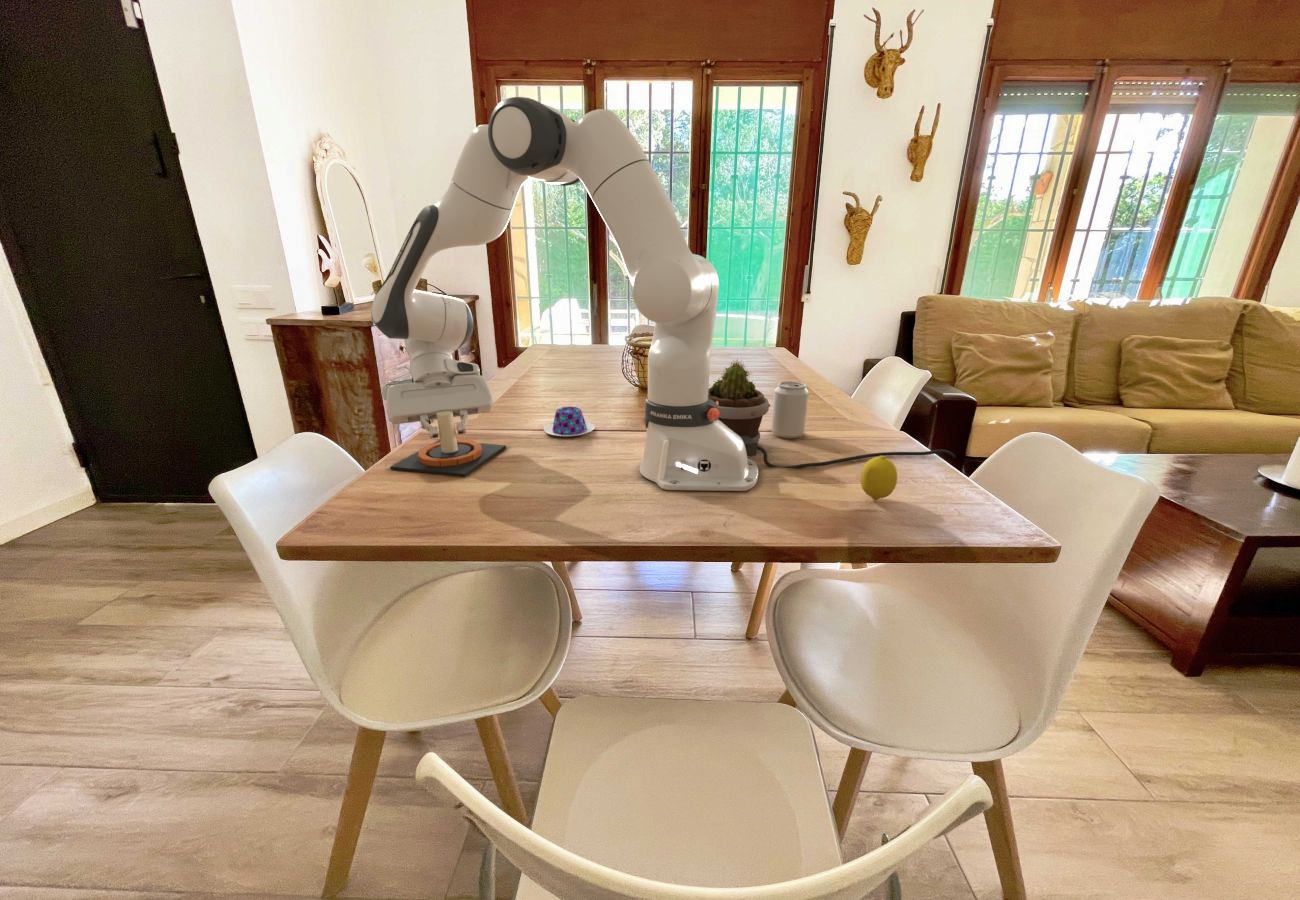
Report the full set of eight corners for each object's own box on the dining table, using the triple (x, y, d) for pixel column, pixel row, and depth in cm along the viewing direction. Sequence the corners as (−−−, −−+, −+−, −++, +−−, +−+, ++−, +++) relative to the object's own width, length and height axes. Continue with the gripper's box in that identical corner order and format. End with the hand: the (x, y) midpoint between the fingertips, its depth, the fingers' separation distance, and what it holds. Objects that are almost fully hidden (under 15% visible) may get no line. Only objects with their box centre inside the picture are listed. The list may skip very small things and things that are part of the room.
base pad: (506, 447, 111) (505, 440, 110) (464, 476, 96) (463, 467, 96) (440, 442, 114) (439, 434, 114) (390, 469, 100) (389, 460, 99)
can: (808, 432, 120) (813, 382, 116) (798, 441, 114) (803, 388, 110) (776, 427, 124) (781, 378, 120) (765, 436, 118) (770, 384, 114)
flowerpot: (700, 433, 120) (702, 346, 113) (767, 437, 117) (774, 349, 110) (691, 454, 107) (693, 358, 100) (766, 460, 104) (774, 361, 97)
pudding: (534, 436, 118) (532, 414, 116) (558, 421, 129) (556, 400, 127) (582, 441, 115) (581, 418, 113) (602, 425, 125) (602, 404, 124)
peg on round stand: (478, 450, 108) (473, 408, 105) (457, 464, 101) (450, 420, 97) (444, 447, 110) (438, 406, 106) (421, 460, 102) (413, 417, 99)
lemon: (890, 510, 83) (898, 464, 81) (854, 502, 86) (861, 457, 83) (895, 497, 88) (903, 453, 85) (861, 490, 91) (867, 447, 88)
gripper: (378, 373, 101) (389, 435, 96) (485, 363, 109) (500, 419, 105) (381, 390, 106) (392, 450, 101) (483, 380, 115) (498, 434, 110)
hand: (448, 434), depth 103 cm, fingers open, 4 cm apart
